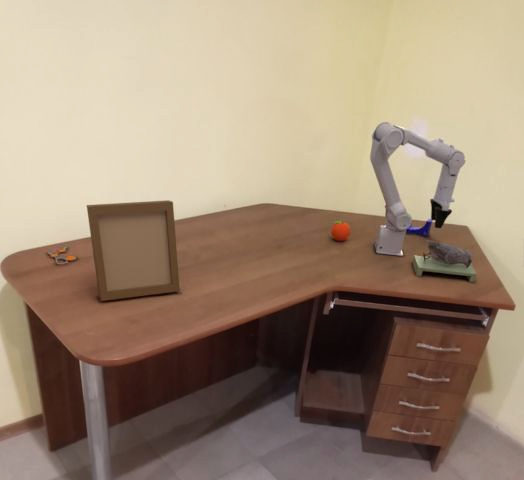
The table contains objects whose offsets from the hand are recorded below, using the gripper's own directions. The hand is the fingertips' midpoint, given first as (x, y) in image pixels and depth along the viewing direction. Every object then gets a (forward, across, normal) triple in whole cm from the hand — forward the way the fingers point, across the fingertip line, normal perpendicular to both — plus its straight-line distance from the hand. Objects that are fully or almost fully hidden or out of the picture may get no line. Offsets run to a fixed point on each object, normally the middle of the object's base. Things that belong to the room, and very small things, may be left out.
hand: (435, 223), depth 185 cm
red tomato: (+10, +1, +34) cm, 35 cm away
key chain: (+8, -39, +122) cm, 128 cm away
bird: (+8, -18, -2) cm, 20 cm away
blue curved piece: (+11, +18, +4) cm, 21 cm away
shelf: (+10, -18, -2) cm, 21 cm away
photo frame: (+9, -53, +94) cm, 108 cm away
